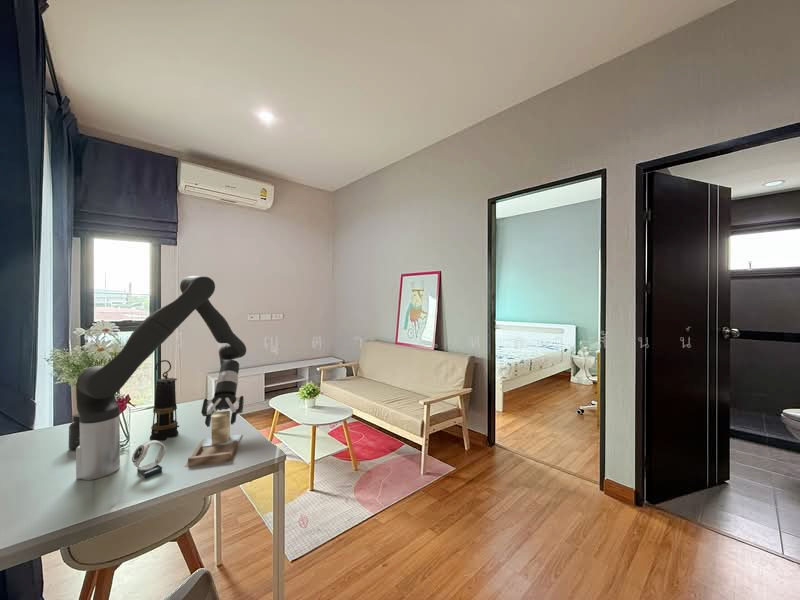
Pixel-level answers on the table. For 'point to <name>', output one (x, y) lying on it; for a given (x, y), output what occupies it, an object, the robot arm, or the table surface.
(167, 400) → the lantern
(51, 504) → the table surface
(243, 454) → the table surface
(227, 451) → the brown wooden flat tray
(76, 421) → the supplement bottle
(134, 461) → the watch
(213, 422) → the birch block
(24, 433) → the table surface
